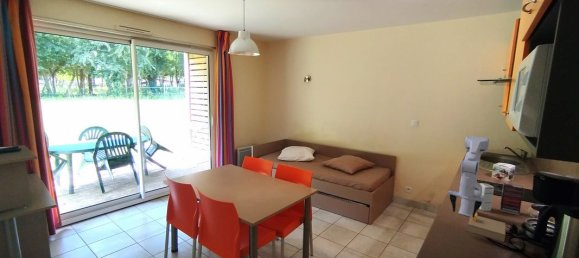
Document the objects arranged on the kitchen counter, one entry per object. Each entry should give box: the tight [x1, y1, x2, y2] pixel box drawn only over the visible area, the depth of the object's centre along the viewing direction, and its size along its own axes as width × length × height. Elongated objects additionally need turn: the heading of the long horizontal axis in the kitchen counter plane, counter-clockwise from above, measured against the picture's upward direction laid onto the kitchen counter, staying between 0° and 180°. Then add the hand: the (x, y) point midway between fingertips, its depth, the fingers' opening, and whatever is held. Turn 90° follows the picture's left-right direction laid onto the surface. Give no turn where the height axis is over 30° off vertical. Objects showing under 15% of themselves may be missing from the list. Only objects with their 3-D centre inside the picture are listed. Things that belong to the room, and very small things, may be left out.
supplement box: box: [499, 182, 524, 216], centre depth 150 cm, size 9×5×16 cm, turn 54°
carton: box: [466, 224, 506, 243], centre depth 129 cm, size 14×14×3 cm
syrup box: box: [478, 182, 495, 212], centre depth 153 cm, size 6×6×14 cm
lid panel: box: [467, 212, 506, 237], centre depth 128 cm, size 14×14×4 cm
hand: (463, 213), depth 124 cm, fingers open, 7 cm apart
